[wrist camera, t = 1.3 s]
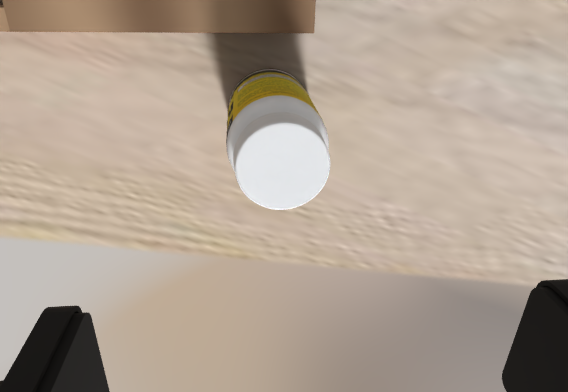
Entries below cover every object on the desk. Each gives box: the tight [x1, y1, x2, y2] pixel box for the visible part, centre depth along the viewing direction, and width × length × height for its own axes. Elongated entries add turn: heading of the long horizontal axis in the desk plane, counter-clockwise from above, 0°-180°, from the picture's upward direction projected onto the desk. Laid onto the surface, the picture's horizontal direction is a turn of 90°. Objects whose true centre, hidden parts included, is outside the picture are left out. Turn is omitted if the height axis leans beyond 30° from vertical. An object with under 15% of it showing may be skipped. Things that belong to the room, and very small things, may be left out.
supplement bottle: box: [226, 69, 330, 210], centre depth 21 cm, size 5×5×8 cm
